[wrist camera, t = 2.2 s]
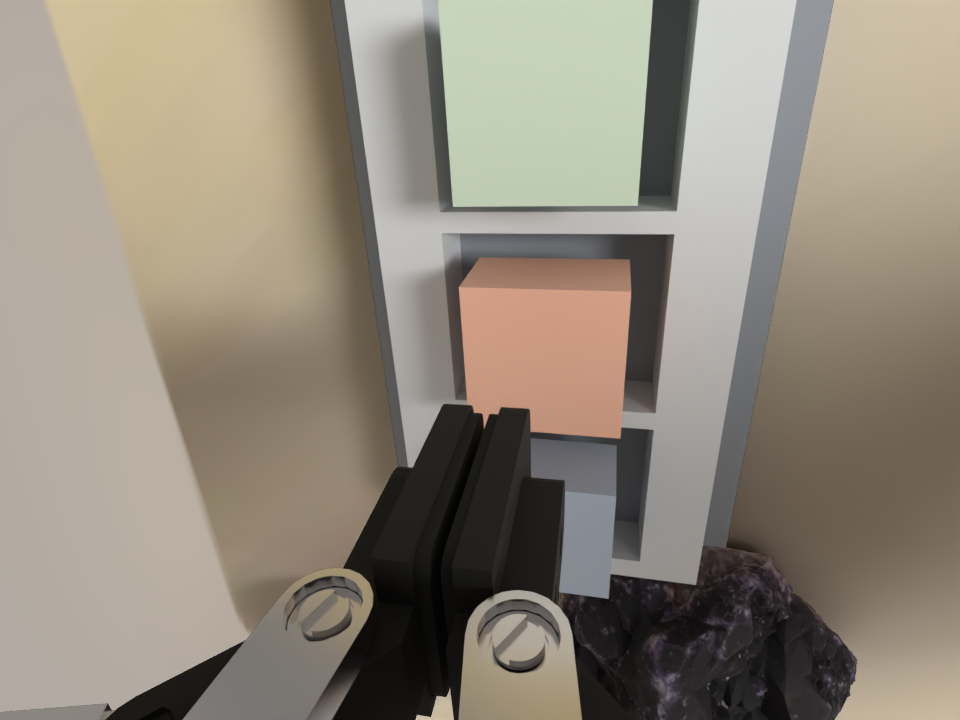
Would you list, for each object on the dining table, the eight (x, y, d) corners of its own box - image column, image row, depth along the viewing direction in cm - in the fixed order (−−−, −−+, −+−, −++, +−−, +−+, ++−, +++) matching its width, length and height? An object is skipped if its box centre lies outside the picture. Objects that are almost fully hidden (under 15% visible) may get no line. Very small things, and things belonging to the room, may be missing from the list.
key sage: (648, -10, 13) (654, -23, 11) (635, 184, 15) (637, 205, 12) (466, 6, 14) (437, -5, 11) (475, 186, 16) (452, 206, 13)
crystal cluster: (824, 496, 23) (905, 730, 15) (865, 731, 27) (948, 1024, 18) (520, 519, 29) (449, 700, 20) (592, 712, 33) (558, 932, 24)
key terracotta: (629, 259, 16) (631, 291, 13) (620, 391, 17) (620, 438, 15) (480, 257, 16) (458, 287, 14) (486, 383, 18) (469, 426, 16)
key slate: (616, 445, 18) (616, 496, 16) (609, 541, 20) (608, 598, 18) (489, 434, 19) (473, 482, 17) (494, 528, 21) (480, 581, 19)
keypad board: (894, -457, 12) (1010, -675, 8) (717, 512, 24) (734, 590, 20) (315, -327, 14) (219, -449, 11) (419, 481, 26) (388, 545, 23)
